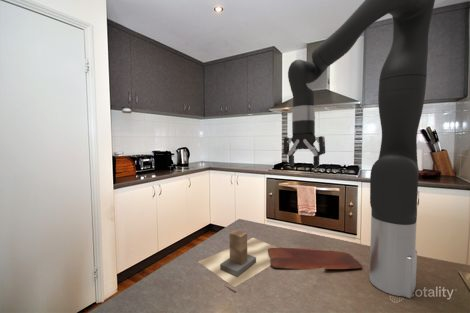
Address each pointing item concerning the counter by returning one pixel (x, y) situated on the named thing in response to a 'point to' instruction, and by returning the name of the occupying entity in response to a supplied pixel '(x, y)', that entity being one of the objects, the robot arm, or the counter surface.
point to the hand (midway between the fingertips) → (303, 166)
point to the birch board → (262, 262)
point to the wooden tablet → (311, 259)
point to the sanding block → (238, 255)
